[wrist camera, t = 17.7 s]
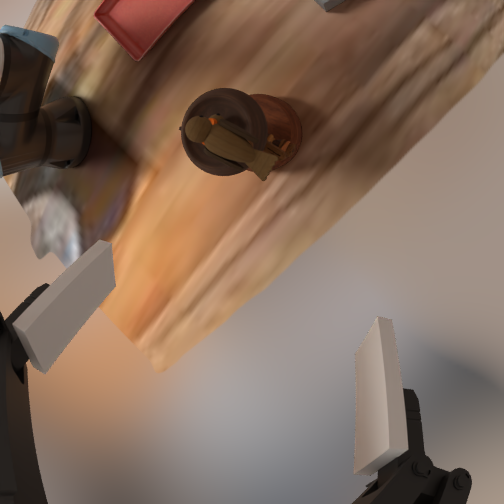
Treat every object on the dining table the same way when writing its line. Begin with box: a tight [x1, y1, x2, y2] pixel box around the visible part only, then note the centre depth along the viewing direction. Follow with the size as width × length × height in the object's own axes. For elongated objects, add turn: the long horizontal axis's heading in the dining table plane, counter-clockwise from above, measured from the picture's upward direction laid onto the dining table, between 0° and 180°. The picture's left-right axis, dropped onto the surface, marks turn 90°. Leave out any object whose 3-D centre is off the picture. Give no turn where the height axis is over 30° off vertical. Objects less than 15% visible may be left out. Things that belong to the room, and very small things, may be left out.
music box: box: [179, 88, 302, 181], centre depth 33 cm, size 15×11×20 cm
